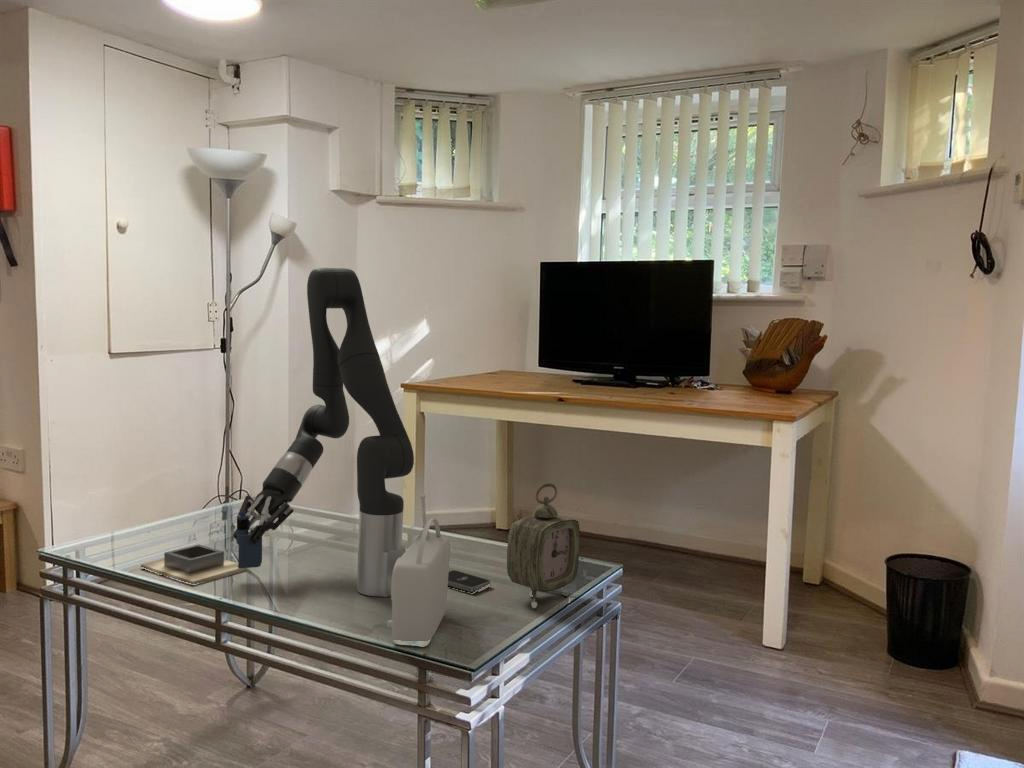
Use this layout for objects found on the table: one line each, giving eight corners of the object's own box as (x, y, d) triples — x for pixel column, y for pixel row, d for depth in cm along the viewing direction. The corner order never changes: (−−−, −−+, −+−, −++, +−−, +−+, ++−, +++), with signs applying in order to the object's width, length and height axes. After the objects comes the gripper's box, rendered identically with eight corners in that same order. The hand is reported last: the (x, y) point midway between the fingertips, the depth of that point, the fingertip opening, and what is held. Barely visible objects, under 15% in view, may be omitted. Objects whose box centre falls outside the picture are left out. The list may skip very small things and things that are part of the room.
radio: (408, 607, 160) (412, 485, 159) (448, 610, 160) (454, 487, 158) (380, 650, 139) (385, 509, 137) (426, 654, 138) (432, 513, 136)
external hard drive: (471, 597, 169) (472, 588, 169) (432, 585, 176) (433, 576, 176) (491, 589, 175) (491, 580, 175) (453, 578, 182) (453, 569, 181)
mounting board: (246, 570, 178) (246, 566, 178) (192, 586, 167) (192, 581, 167) (195, 555, 188) (195, 550, 188) (140, 568, 176) (140, 564, 176)
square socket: (223, 564, 179) (223, 551, 178) (189, 574, 171) (189, 560, 171) (198, 557, 183) (198, 544, 183) (164, 565, 176) (164, 552, 176)
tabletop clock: (534, 613, 160) (541, 491, 158) (501, 602, 166) (506, 483, 164) (577, 597, 171) (583, 482, 169) (544, 586, 177) (549, 476, 175)
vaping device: (236, 565, 171) (236, 510, 170) (261, 563, 173) (262, 509, 172) (236, 569, 169) (236, 513, 168) (262, 567, 170) (262, 511, 170)
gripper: (257, 463, 180) (211, 525, 171) (301, 470, 172) (256, 536, 163) (275, 482, 185) (231, 545, 175) (319, 490, 177) (276, 556, 168)
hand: (243, 540), depth 169 cm, fingers closed on vaping device, 4 cm apart
